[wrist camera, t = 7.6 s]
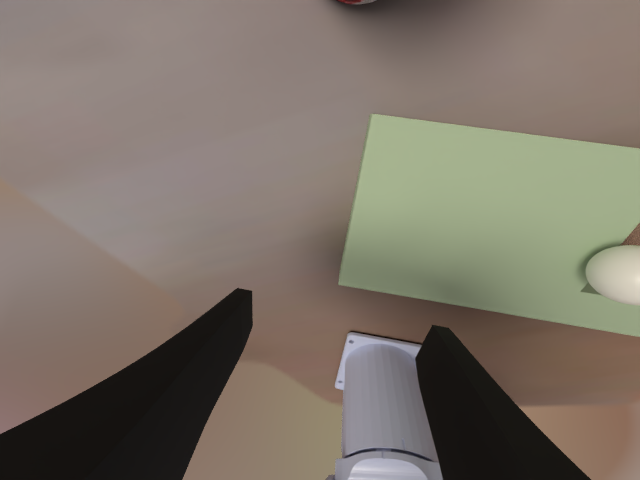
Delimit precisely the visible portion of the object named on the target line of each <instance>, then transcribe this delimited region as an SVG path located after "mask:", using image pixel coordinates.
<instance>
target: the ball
mask: <svg viewBox="0 0 640 480" xmlns="http://www.w3.org/2000/svg"><path fill="white" fill-rule="evenodd" d="M586 278H587V280H588V282H589V284H590V285H591V286H592V287H593V288H594V289H595V290H596V291H597V292H598V293H600V294H601V295H603V296H605V297H607V298H609V299H611V300H614V301H617V302H620V303H624V304H629V305H640V246H636V245H624V246H616V247H611V248H608V249H605V250H603V251H601V252H599V253H597V254H596V255H594V256H593V257H592V258H591V259H590V260H589V262H588V264H587V266H586Z"/></svg>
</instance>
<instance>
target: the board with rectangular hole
mask: <svg viewBox="0 0 640 480" xmlns="http://www.w3.org/2000/svg"><path fill="white" fill-rule="evenodd" d="M639 223H640V149H638V148H630V147H623V146H615V145H607V144H600V143H592V142H584V141H577V140H569V139H561V138H554V137H546V136H539V135H531V134H523V133H516V132H508V131H500V130H493V129H485V128H477V127H470V126H462V125H454V124H447V123H439V122H431V121H424V120H416V119H408V118H401V117H393V116H386V115H378V114H370V116H369V121H368V126H367V132H366V137H365V142H364V147H363V152H362V157H361V163H360V168H359V173H358V178H357V183H356V188H355V194H354V199H353V204H352V209H351V214H350V219H349V225H348V230H347V235H346V240H345V245H344V250H343V256H342V261H341V266H340V272H339V284H338V285H343V286H349V287H354V288H360V289H366V290H372V291H378V292H383V293H389V294H395V295H401V296H406V297H412V298H418V299H424V300H430V301H435V302H441V303H447V304H453V305H458V306H464V307H470V308H476V309H482V310H487V311H493V312H499V313H505V314H510V315H516V316H522V317H528V318H534V319H539V320H545V321H551V322H557V323H562V324H568V325H574V326H580V327H586V328H591V329H597V330H603V331H609V332H614V333H620V334H626V335H632V336H638V337H640V305H629V304H624V303H620V302H617V301H614V300H611V299H609V298H607V297H605V296H603V295H601V294H600V293H598V292H597V291H596V290H595V289H594V288H593V287H592V286H591V285H590V284H589V282H588V280H587V278H586V266H587V264H588V262H589V260H590V259H591V258H592V257H593V256H594V255H596V254H597V253H599V252H601V251H603V250H605V249H608V248H611V247H616V246H620V245H621V244H622V242H623V241H624V240H625V239H626V238H627V237H628V235H629V234H630V233H631V232H632V231H633V230H634V228H635V227H636V226H637V225H638V224H639Z"/></svg>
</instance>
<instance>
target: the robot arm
mask: <svg viewBox="0 0 640 480" xmlns="http://www.w3.org/2000/svg"><path fill="white" fill-rule="evenodd" d="M252 326H253V321H252V291H250V290H245V289H239V288H237V289H235V290H234V291H233V292H231V293H230V294H229V295H228V296H226V297H225V298H224V299H223V300H221V301H220V302H219V303H218V304H216V305H215V306H214V307H213V308H211V309H210V310H209V311H207V312H206V313H205V314H203V315H202V316H201V317H200V318H198V319H197V320H196V321H194V322H193V323H192V324H190V325H189V326H188V327H186V328H185V329H183V330H182V331H181V332H179V333H178V334H176V335H175V336H173V337H172V338H170V339H169V340H168V341H166V342H165V343H163V344H162V345H160V346H159V347H158V348H156V349H154V350H153V351H151V352H150V353H148V354H147V355H145V356H143V357H142V358H140V359H139V360H137V361H136V362H134V363H132V364H131V365H129V366H127V367H126V368H124V369H122V370H121V371H119V372H117V373H116V374H114V375H112V376H110V377H109V378H107V379H105V380H103V381H102V382H100V383H98V384H96V385H95V386H93V387H91V388H89V389H87V390H86V391H84V392H82V393H80V394H78V395H77V396H75V397H73V398H71V399H69V400H67V401H65V402H64V403H62V404H60V405H58V406H56V407H54V408H52V409H50V410H48V411H46V412H44V413H42V414H40V415H38V416H36V417H34V418H32V419H30V420H28V421H26V422H24V423H22V424H20V425H18V426H16V427H14V428H12V429H10V430H8V431H6V432H4V433H2V434H0V480H182V479H183V477H184V474H185V472H186V469H187V467H188V464H189V462H190V460H191V457H192V455H193V453H194V450H195V448H196V445H197V443H198V441H199V438H200V436H201V434H202V431H203V429H204V427H205V424H206V422H207V420H208V418H209V416H210V414H211V412H212V410H213V408H214V406H215V404H216V402H217V400H218V398H219V396H220V395H221V392H222V391H223V389H224V387H225V385H226V383H227V381H228V379H229V377H230V375H231V373H232V371H233V370H234V368H235V365H236V364H237V362H238V360H239V358H240V356H241V354H242V352H243V350H244V347H245V345H246V342H247V340H248V337H249V334H250V332H251V329H252ZM335 387H336V388H337V389H341V390H343V412H342V442H341V447H342V459H336V466H335V475H329V476H328V477H327V478H326V480H591V479H590V478H589V477H587V475H586V474H585V473H583V472H582V471H581V470H580V469H579V468H578V467H577V466H576V465H575V464H574V463H573V462H572V461H571V460H570V459H569V458H568V457H567V456H566V455H565V454H564V453H563V452H562V451H561V450H560V449H559V448H558V447H557V446H556V445H555V444H554V443H553V442H552V441H551V440H550V439H549V438H548V437H547V436H546V435H545V434H544V433H543V432H542V431H541V430H540V429H539V428H538V427H537V426H536V425H535V424H534V423H533V422H532V421H531V420H530V419H529V418H528V417H527V416H526V414H525V413H524V412H523V411H522V410H521V409H520V408H519V407H518V406H517V405H516V404H515V403H514V402H513V401H512V400H511V398H510V397H509V396H508V395H507V394H506V393H505V392H504V391H503V390H502V389H501V387H500V386H499V385H498V384H497V383H496V382H495V381H494V380H493V378H492V377H491V376H490V375H489V374H488V373H487V372H486V370H485V369H484V368H483V367H482V366H481V365H480V363H479V362H478V361H477V360H476V359H475V358H474V356H473V355H472V354H471V353H470V352H469V351H468V350H467V348H466V347H465V346H464V345H463V344H462V343H461V341H460V340H459V339H458V338H457V337H456V336H455V335H454V333H453V332H452V331H451V330H450V329H449V328H446V327H441V326H436V325H432V327H431V329H430V331H429V333H428V335H427V336H426V338H425V340H424V342H423V344H422V345H420V344H414V343H409V342H403V341H398V340H392V339H387V338H382V337H376V336H371V335H365V334H360V333H354V332H350V333H348V335H347V339H346V342H345V346H344V350H343V354H342V358H341V362H340V366H339V370H338V374H337V378H336V382H335Z"/></svg>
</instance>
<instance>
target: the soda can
mask: <svg viewBox="0 0 640 480" xmlns="http://www.w3.org/2000/svg"><path fill="white" fill-rule="evenodd" d="M337 1H340V2H343V3H347V4H358V5H359V4H366V3H371V2H373V1H376V0H337Z"/></svg>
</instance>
